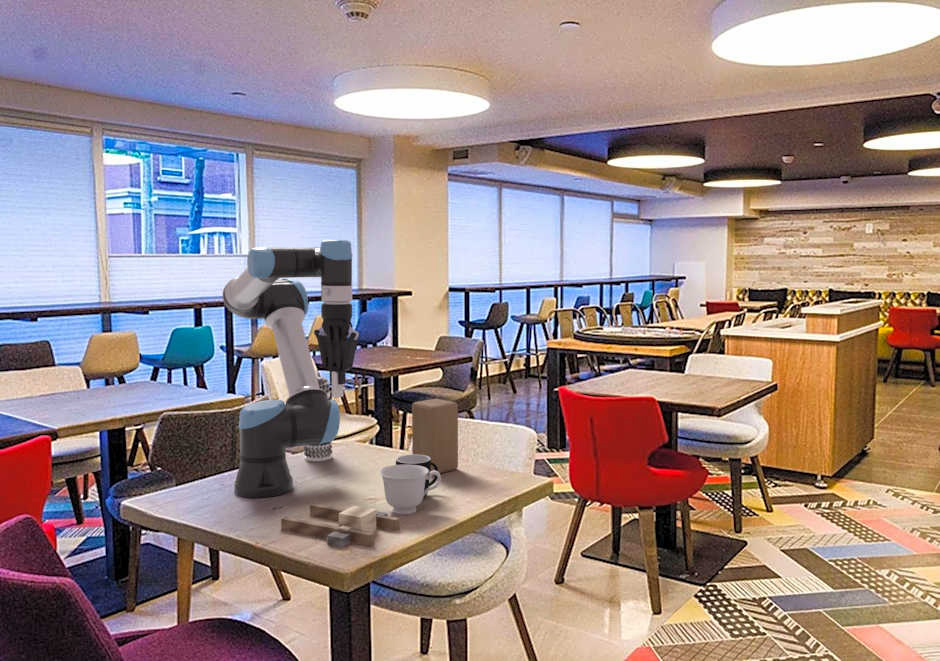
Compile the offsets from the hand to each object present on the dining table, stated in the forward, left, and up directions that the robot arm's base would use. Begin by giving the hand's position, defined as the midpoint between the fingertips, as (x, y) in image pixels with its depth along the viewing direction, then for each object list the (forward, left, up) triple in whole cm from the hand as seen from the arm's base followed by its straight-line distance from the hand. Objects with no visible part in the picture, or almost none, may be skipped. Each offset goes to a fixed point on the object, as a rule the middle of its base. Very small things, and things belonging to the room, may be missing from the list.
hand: (337, 396), depth 190 cm
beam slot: (+12, -16, -27) cm, 33 cm away
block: (+8, +37, -27) cm, 47 cm away
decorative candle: (-31, +33, -27) cm, 53 cm away
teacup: (+20, +2, -27) cm, 34 cm away
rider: (+16, -16, -27) cm, 35 cm away
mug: (+16, +13, -27) cm, 34 cm away
